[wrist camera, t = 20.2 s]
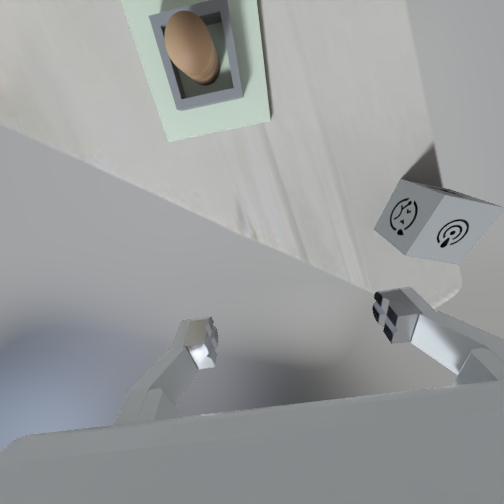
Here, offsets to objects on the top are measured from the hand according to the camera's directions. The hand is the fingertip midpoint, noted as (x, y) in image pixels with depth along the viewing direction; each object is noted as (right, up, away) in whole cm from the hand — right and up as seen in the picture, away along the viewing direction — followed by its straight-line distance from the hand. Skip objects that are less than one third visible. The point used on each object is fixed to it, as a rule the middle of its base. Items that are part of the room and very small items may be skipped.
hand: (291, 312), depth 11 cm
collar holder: (-9, +29, +19) cm, 35 cm away
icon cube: (+28, +11, +31) cm, 43 cm away
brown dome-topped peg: (-8, +28, +18) cm, 34 cm away
